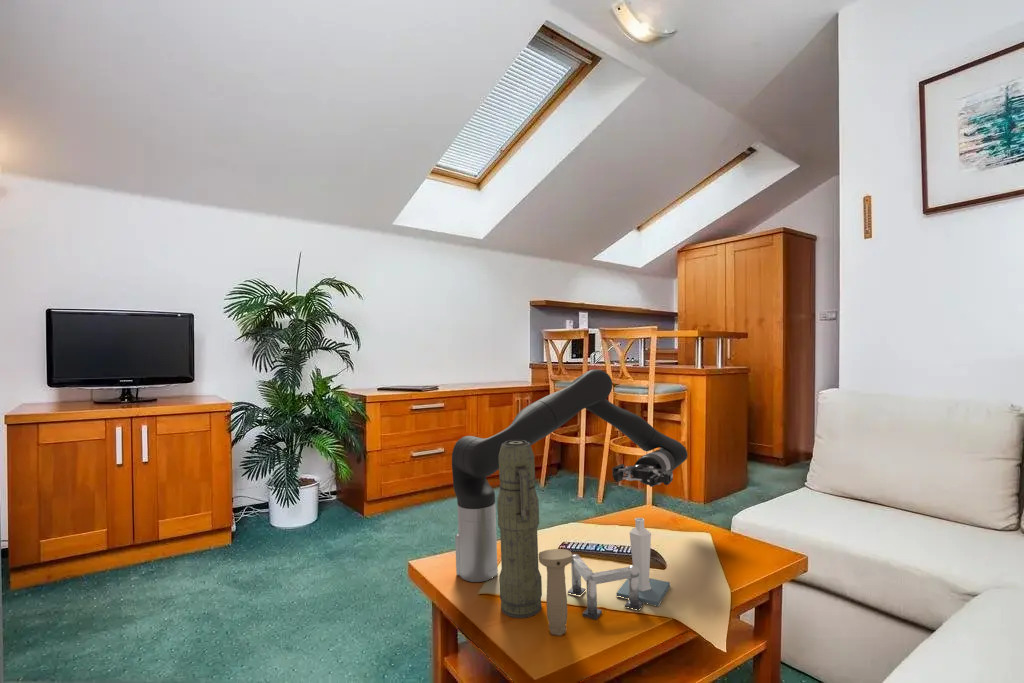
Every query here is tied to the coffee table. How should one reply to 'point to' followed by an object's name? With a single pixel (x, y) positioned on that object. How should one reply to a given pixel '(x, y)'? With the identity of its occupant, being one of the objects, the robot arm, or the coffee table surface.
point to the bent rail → (602, 577)
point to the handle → (556, 588)
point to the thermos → (518, 531)
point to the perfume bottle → (641, 553)
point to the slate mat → (648, 591)
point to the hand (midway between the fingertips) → (633, 480)
